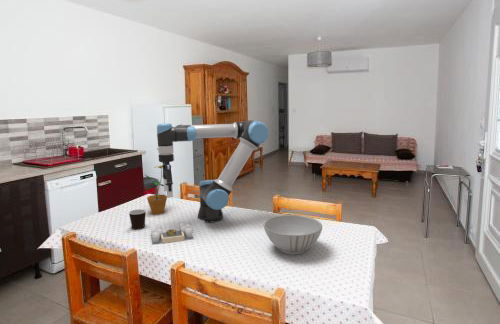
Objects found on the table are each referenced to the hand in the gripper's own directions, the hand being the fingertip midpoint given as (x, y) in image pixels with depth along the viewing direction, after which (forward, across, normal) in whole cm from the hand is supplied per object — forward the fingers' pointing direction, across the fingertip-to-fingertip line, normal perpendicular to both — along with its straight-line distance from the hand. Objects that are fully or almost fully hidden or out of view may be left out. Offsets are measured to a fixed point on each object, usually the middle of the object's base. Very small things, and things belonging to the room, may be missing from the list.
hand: (168, 194), depth 178 cm
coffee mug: (+21, -11, -15) cm, 28 cm away
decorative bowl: (+21, +43, +50) cm, 70 cm away
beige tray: (+21, +10, -1) cm, 23 cm away
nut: (+20, +7, 0) cm, 21 cm away
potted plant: (+21, -36, -3) cm, 42 cm away
